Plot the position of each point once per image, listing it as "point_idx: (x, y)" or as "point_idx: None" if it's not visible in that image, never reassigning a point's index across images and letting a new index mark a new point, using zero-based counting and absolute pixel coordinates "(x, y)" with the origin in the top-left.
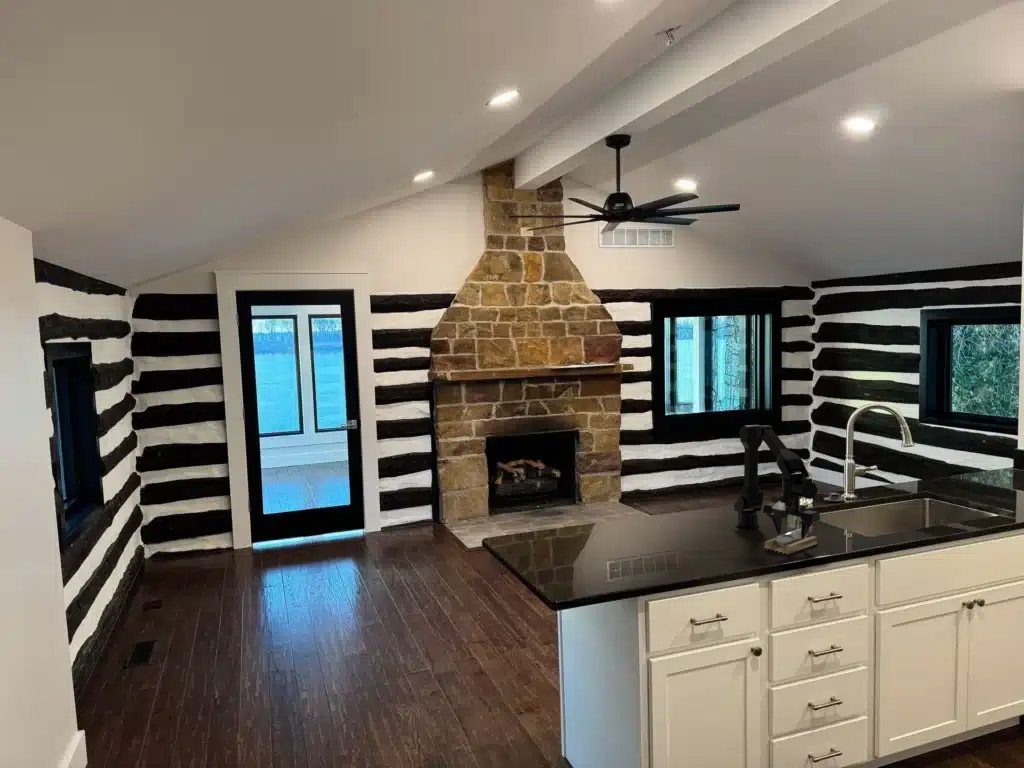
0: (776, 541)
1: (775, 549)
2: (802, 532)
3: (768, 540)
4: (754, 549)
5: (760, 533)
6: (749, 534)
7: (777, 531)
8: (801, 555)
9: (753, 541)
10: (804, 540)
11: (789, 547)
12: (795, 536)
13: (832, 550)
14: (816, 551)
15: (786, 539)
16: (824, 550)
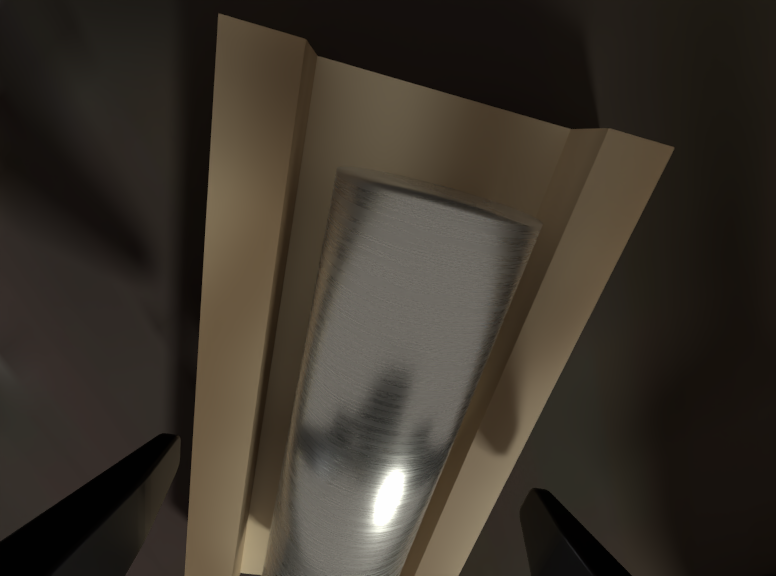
0: (491, 207)
1: (456, 100)
2: (57, 531)
3: (618, 241)
4: (729, 21)
5: (680, 549)
6: (771, 493)
7: (563, 514)
8: (110, 127)
9: (739, 338)
10: (212, 479)
11: (218, 71)
12: (286, 476)
13: (6, 467)
14: (86, 369)
15: (330, 260)
16: (54, 434)
